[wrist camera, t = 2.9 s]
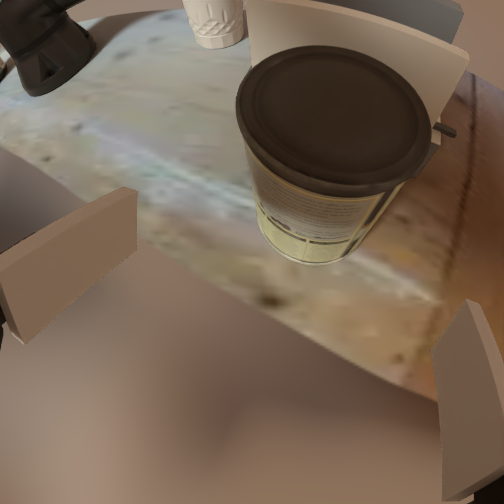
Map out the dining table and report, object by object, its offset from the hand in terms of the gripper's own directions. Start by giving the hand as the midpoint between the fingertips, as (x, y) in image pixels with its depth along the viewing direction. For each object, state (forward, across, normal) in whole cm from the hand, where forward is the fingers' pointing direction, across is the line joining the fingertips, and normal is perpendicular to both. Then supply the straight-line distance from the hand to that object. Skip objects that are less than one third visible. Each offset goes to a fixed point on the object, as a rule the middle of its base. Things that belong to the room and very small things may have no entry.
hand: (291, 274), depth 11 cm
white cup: (+33, -19, +12) cm, 40 cm away
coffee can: (+17, 0, -4) cm, 18 cm away
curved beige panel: (+22, +1, +3) cm, 23 cm away
